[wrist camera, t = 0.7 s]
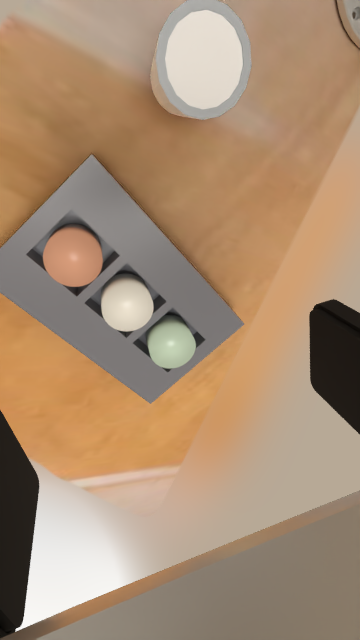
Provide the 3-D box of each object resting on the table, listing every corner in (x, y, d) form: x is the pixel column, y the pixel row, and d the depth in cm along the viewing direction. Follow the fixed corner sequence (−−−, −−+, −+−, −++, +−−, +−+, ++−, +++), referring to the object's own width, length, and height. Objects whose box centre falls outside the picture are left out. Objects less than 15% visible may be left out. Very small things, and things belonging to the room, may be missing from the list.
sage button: (169, 306, 36) (175, 318, 34) (197, 333, 39) (204, 347, 36) (136, 335, 37) (139, 350, 34) (165, 360, 39) (170, 376, 37)
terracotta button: (72, 212, 30) (71, 218, 28) (112, 251, 32) (114, 260, 30) (35, 249, 31) (30, 259, 28) (77, 285, 33) (75, 297, 31)
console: (91, 153, 31) (91, 154, 27) (231, 308, 41) (244, 324, 38) (-13, 260, 33) (-25, 274, 29) (145, 382, 43) (150, 403, 40)
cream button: (125, 263, 33) (128, 273, 31) (158, 295, 36) (163, 307, 33) (90, 296, 34) (90, 309, 31) (125, 326, 36) (127, 340, 34)
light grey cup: (233, 56, 30) (269, 33, 24) (200, 138, 32) (225, 136, 26) (161, 8, 27) (180, -30, 21) (130, 101, 30) (140, 90, 24)
